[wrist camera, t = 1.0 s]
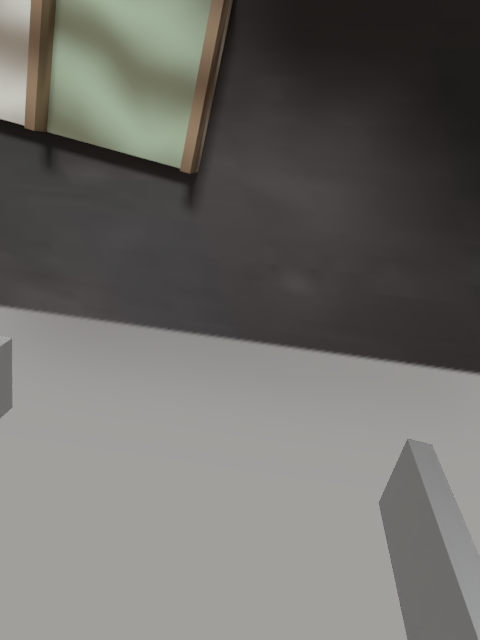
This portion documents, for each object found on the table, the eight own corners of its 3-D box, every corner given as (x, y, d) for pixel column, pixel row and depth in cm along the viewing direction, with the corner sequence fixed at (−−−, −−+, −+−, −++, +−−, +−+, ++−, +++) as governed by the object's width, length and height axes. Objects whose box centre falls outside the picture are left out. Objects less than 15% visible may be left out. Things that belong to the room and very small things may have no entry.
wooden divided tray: (-105, -106, 31) (-144, -131, 29) (236, -16, 31) (230, -33, 28) (-97, 90, 36) (-129, 85, 34) (198, 171, 36) (189, 173, 33)
